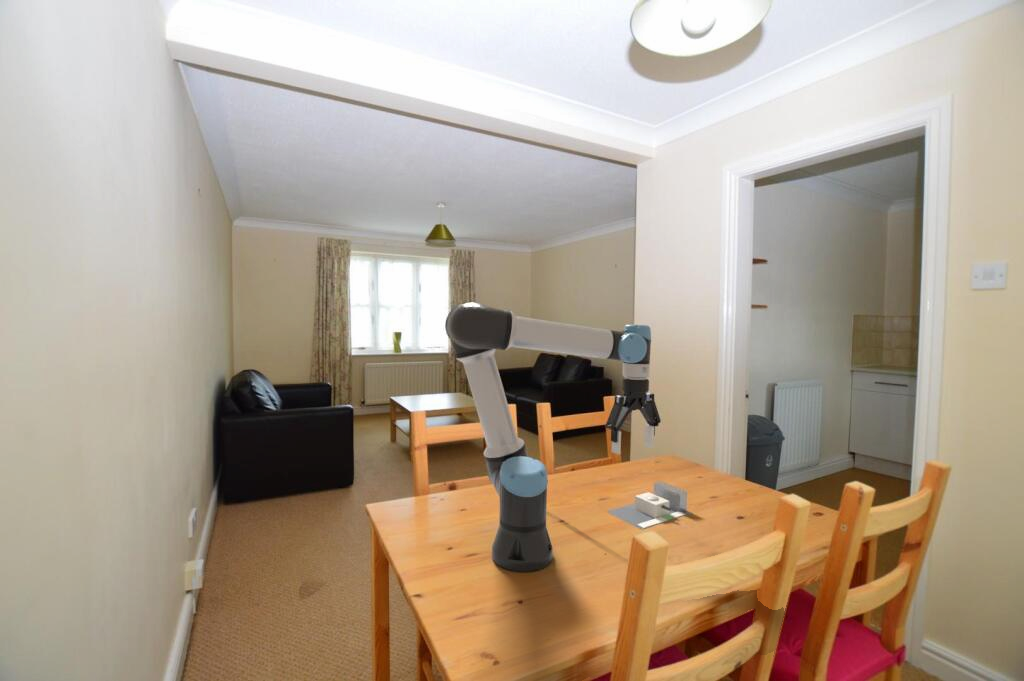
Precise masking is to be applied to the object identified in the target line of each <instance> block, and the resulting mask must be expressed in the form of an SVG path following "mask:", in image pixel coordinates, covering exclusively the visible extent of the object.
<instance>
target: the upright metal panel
mask: <svg viewBox="0 0 1024 681" xmlns="http://www.w3.org/2000/svg"><path fill="white" fill-rule="evenodd" d="M653 494H654V495H656V496H659V497H661V498H664V499H666V500H668V501H669V508H671V509H672V510H674V511H677V512H684V511H686V510H687V505H688V504H687V503H688V491H687V490H685V489H682V488H680V487H677V486H676V485H675V486H674V485H672V484H670V483H666V482H663V481H656V482H653ZM687 511H688V510H687Z"/></svg>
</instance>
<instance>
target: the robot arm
mask: <svg viewBox="0 0 1024 681" xmlns="http://www.w3.org/2000/svg"><path fill="white" fill-rule="evenodd" d="M444 325H445V326H444V327H445V332H446V335H447V337H448V338H449V341H450V344H451V346H452V351H453V354H454V357H455V360H458V361H459V362H461V363H462V364H463V368H464V371H465V374H466V378H467V381H468V385H469V389H470V391H471V392H470V393H471V395H472V399H473V401H474V405H475V410H476V413H477V415H478V416H477V417H478V419H479V422H480V427H481V429H482V433H483V437H484V441H485V444H486V447H485V449H484V451H483V457H484V460H485V463H486V469H487V470H486V471H487V477H488V479H489V481H490V483H491V484H492V485H493V488H494V489H495V491H496V494H498V497H499V522H498V523H499V524H498V528H497V531H496V534H495V537H494V541H493V543H492V545H491V558H492V560H493V562H494V564H496V565H497V566H499V567H500V568H503V569H505V570H509V571H513V572H520V573H525V572H526V573H529V572H535V571H539V570H543V569H545V568H547V566H549V565H550V564H551V563H552V561H553V554H554V552H553V550H554V548H553V545H552V541H551V539H550V538H551V537H550V535H549V532H548V528H547V503H548V500H547V499H548V482H549V480H548V479H549V478H548V472H547V467H546V465H545V464H544V463H542V461H541V460H538V459H534V457H529V455H528V451H527V448H526V447H527V446H526V444H525V441H524V440H523V439H522V438H520V437H518V436H517V433H516V429H515V425H514V422H513V418H512V415H511V411H510V407H509V403H508V400H507V396H506V394H505V389H504V385H503V382H502V379H501V376H500V372H499V368H498V364H497V362H496V361H497V360H496V357H495V353H496V350H499V351H507V350H509V348H518V349H525V350H526V349H527V350H534V351H542V352H549V353H550V352H551V353H557V354H564V355H574V356H580V357H589V358H595V359H596V358H597V359H604V360H608V361H618V362H622V376H623V378H621V379H622V383H621V390H622V391H623V395H618V394H616V395H615V396H614V402H613V405H612V407H611V409H610V410H611V411H610V413H609V415H608V417H607V420H606V423H605V426H604V427H605V428H606V429H608V430H610V441H611V453H613V454H616V455H621V445H622V444H621V443H622V442H621V441H622V431H621V430H620V429H621V428H622V426H623V424H624V423H625V421H626V420H627V418H628V416H629V414H630V413H632V412H634V411H637V410H638V411H639V412H640V414H642V416H643V418H644V420H645V422H646V423H647V424H645V428H644V431H645V432H644V447H645V448H649V449H654V442H655V439H654V438H655V435H656V427H659V424H660V423H661V421H662V420H661V417H660V415H659V414H660V413H659V411H658V407H657V404H656V402H655V394H654V393H653V392H649V390H650V379H648V378H649V377H650V365H651V364H650V361H651V347H652V344H651V343H652V333H651V332H652V330H651V327H650V326H649V325H646V324H625V325H624V328H623V330H621V331H619V330H611V329H606V328H600V327H599V328H597V327H591V326H587V325H586V326H585V325H578V324H570V323H563V322H560V321H559V322H557V321H552V320H551V321H550V320H544V319H538V318H537V319H536V318H532V317H524V316H519V315H518V316H517V315H515V314H514V312H513V311H511V310H504V309H500V308H496V307H492V306H489V305H485V304H483V303H480V302H479V303H478V302H465V303H461V304H458V305H456V306H454V307H453V308H452V309H451V310H450V311H449V313H448V314H447V316H446V319H445V324H444Z"/></svg>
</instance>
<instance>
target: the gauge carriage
mask: <svg viewBox="0 0 1024 681" xmlns="http://www.w3.org/2000/svg"><path fill="white" fill-rule="evenodd" d="M634 503H635V509H636V510H639V511H641V512H643V513H645V514H647V515H649V516H651V517H653V518H658V517H661V516H664V515H667V514H669V511H670V510H671V508H669V501H668V500H666V499H664V498H661V497H659V496H656V495H654V493H653V492H652V493H651V492H649V491H648V492H645V493H641V494H637V495H634Z"/></svg>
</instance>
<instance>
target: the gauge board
mask: <svg viewBox="0 0 1024 681" xmlns="http://www.w3.org/2000/svg"><path fill="white" fill-rule="evenodd" d="M606 513H608V514H610V515H612V516H615V518H618V519H621V520H622V521H624V522H626V523H628V524H629V525H632V526H633V527H635V528H637V529H639V530H645V529H648V528H652V527H654V526H657V525H659V524H660V525H661V524H664V523H666V522H670V521H672V520H676V519H678V518H681V517H685V516H687V515H690V514H693V512H691V511H689V510H686V511H684V512H677V511H674V510H672V509H671V510H670V511H669V514H667V515H664V516H661V517H658V518H653V517H651V516H649V515H647V514H645V513H643V512H641V511H639V510H636V509H635V502H634V503H630V504H627V505H624V506H623V505H622V506H620V507H616V508H612V509H609V510H606Z"/></svg>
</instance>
